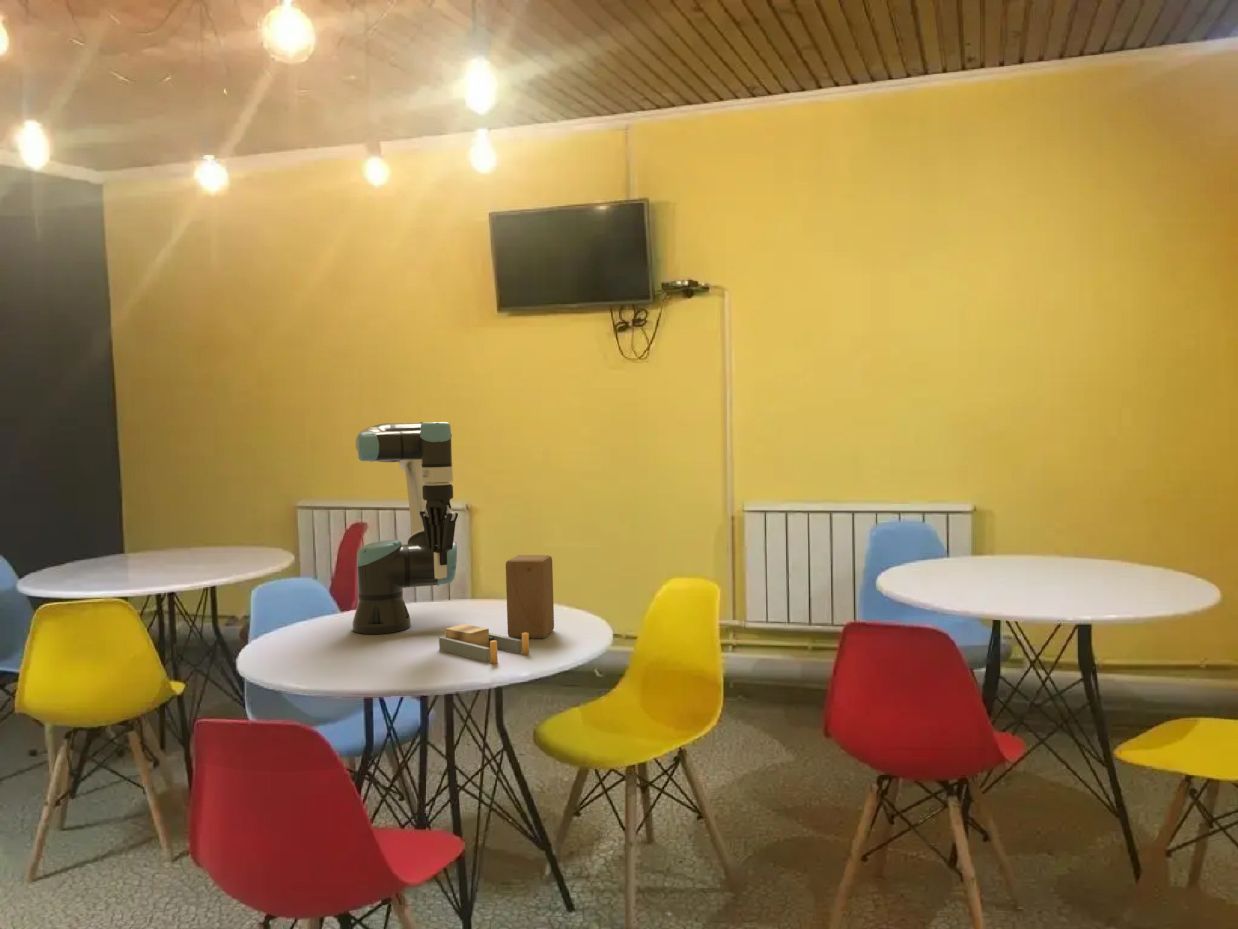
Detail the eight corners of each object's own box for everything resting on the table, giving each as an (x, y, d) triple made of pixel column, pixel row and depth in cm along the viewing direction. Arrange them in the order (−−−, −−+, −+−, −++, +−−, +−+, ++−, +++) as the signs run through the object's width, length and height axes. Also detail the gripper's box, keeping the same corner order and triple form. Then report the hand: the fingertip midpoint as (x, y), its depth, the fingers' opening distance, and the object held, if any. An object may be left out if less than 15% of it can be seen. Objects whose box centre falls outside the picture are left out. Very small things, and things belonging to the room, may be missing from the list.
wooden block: (544, 639, 231) (542, 560, 229) (506, 638, 233) (504, 560, 231) (555, 630, 240) (553, 554, 239) (518, 629, 242) (516, 554, 241)
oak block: (446, 648, 224) (445, 628, 224) (464, 643, 229) (464, 624, 229) (470, 654, 219) (469, 633, 218) (489, 648, 223) (488, 628, 223)
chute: (438, 650, 223) (438, 629, 222) (475, 641, 231) (474, 621, 230) (493, 664, 208) (492, 642, 208) (530, 654, 217) (530, 633, 216)
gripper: (409, 484, 230) (413, 577, 231) (440, 485, 221) (444, 582, 222) (434, 482, 236) (437, 573, 237) (465, 483, 227) (468, 578, 228)
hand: (440, 577), depth 230 cm, fingers closed
